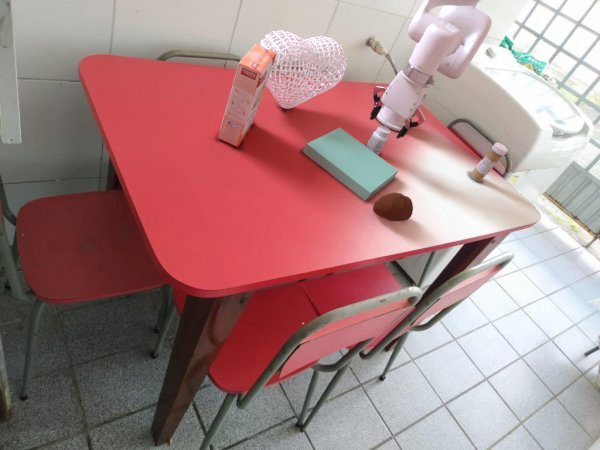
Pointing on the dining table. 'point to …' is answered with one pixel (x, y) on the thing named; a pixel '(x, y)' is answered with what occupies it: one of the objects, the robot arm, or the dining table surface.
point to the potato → (393, 207)
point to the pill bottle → (378, 139)
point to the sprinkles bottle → (488, 161)
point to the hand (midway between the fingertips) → (385, 127)
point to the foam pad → (351, 162)
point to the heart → (304, 44)
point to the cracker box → (246, 94)
